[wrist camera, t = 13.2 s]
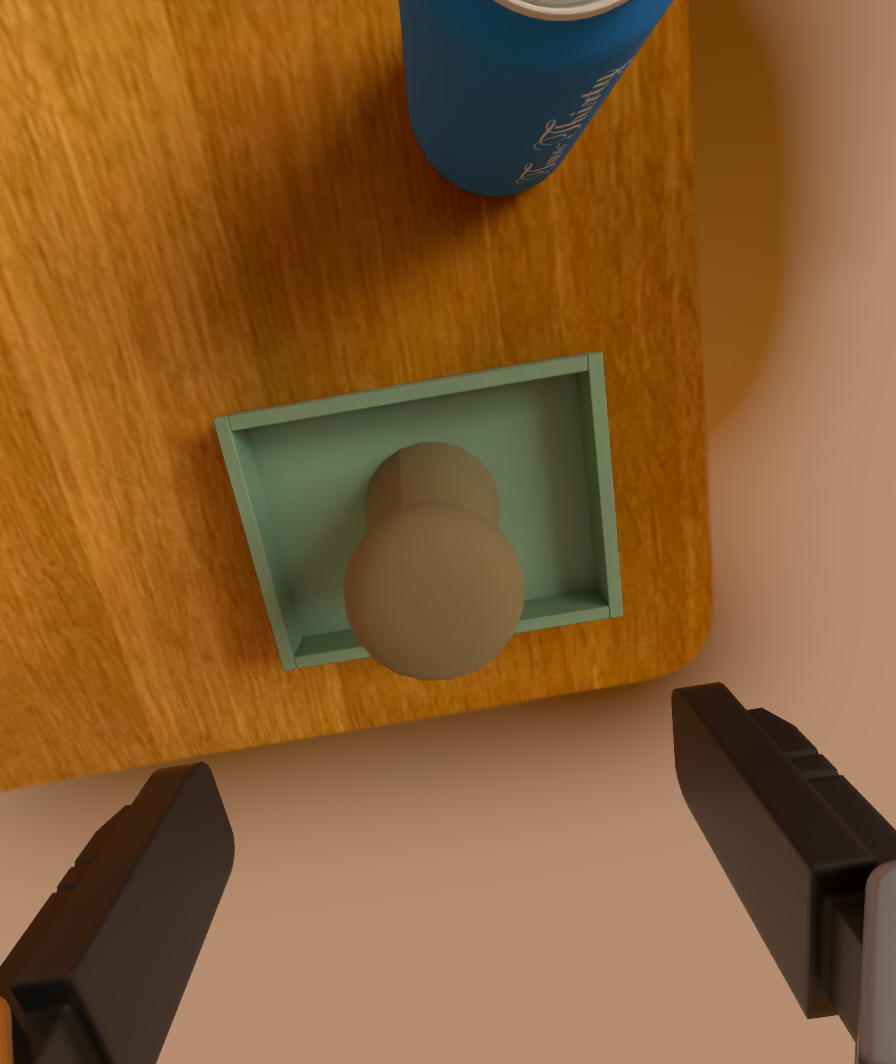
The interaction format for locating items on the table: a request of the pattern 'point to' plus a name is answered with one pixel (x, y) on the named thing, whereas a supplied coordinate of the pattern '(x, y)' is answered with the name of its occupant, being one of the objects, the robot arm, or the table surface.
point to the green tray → (405, 419)
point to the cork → (433, 566)
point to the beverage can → (513, 80)
